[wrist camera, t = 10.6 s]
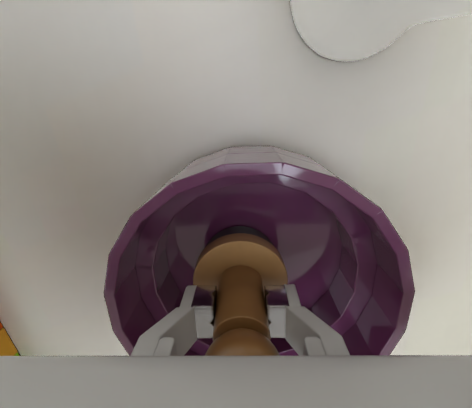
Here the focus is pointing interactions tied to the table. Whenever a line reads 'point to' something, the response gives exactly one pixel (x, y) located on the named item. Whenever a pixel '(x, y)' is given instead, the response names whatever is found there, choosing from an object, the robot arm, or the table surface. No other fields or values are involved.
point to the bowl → (281, 236)
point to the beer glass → (365, 23)
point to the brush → (240, 289)
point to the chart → (6, 344)
